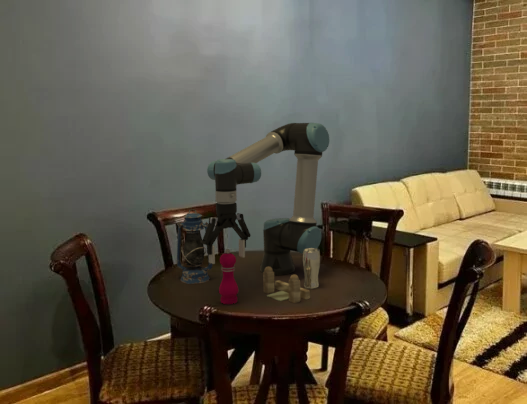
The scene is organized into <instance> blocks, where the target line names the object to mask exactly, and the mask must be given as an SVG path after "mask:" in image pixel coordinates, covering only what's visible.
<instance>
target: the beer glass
mask: <svg viewBox="0 0 527 404" xmlns="http://www.w3.org/2000/svg"><path fill="white" fill-rule="evenodd" d="M320 254H321V253H320V249H319V248H306V249H303V253H302V260H301V261H302V268H303V269H302V270H303V273H304V274H303V275H304V282H303V287H304V289H308V290H309V289H313V290H314V289H318V288H319V287H320V284H319V273H320V266H321V255H320Z"/></svg>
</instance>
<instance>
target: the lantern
mask: <svg viewBox="0 0 527 404" xmlns="http://www.w3.org/2000/svg"><path fill="white" fill-rule="evenodd" d="M191 211H194V212H193V213H191ZM202 217H203V214H201V213H198V212H197V210H196V209H193V208H191V209H189V210H188V212H187V213H186V214H185V215H183V218H184V220H183V222H182V221H181V222H180V221H178V222H177V224H176V225H177V244H176V245H177V249H176V265H177V268H178V269H180V270H182V275H181V277H180V282H181V283H183V284H188V285H200V284H204V283H207V282H209V281H210V280H211V279H210V276H209V274H208V271H210V270H212V268H213V264H212V263H209V254H207V247H205V246H204V245H205V244H202V240H203V237H202V234H201V231H202V230H204V231H205V232H206V229H207V227H208V224H209V222H208V221H206V222H205V223H204V222H203V220H202ZM182 231H186V235H185V240H184V244H182ZM205 232H204V233H205ZM206 254H207V262H208V263H207V266H206V267H203V266H202V265H203V262H204V260H205V255H206ZM182 256H183V262H184V263H185V264H186V266H185V265H183V264H182V261H181V260H182ZM209 279H210V280H209Z"/></svg>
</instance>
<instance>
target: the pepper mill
mask: <svg viewBox="0 0 527 404" xmlns="http://www.w3.org/2000/svg"><path fill="white" fill-rule="evenodd" d="M219 263H220V265H221V266H220V267H221V271H222V279H221V282H220V285H219V288H218V293H219V294H220V303H221V304H222V303H223V305H234V304H236V303H238V296H237V295H238V293H239V292H240V291H239V287H238V286H239V285H238V284H237V281H236V279H235V275H234V274H235V270H236V268H235V267H236V266H235V264H236V263H237V258H236V256H235V254H233V253H232V252H231V250H230V249H229V248H227V249H225V250H224V253H222V254H221V255H220V257H219ZM233 303H234V304H233Z"/></svg>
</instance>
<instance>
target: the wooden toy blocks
mask: <svg viewBox="0 0 527 404" xmlns="http://www.w3.org/2000/svg"><path fill="white" fill-rule="evenodd" d="M264 271H265V272H263V273H262V275H263V277H262V279H263V281H262V283H263V286H262V287H263V291H262V292H263V293H265V294H267V295H266V297H267V298H269V299H272V300H275V301H278V302H283V301H287V300H288V302H290V303H293V304H297V303H299V302H301V299H304V300H308V299H310V298H311V290H309V289H308V288H305V287H304V288H303V287H301V280H300V279H299V276H298V275H297V274H291V275H290V277H289V279H288V282H285V281H282V280H275V275H274V272H273V269H272V268H271V267H269V266H268V267H266V268H265V270H264ZM275 290H277V292H275Z"/></svg>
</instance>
